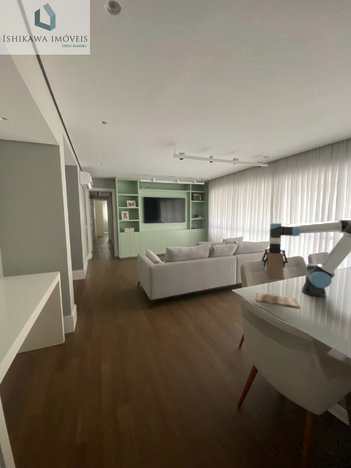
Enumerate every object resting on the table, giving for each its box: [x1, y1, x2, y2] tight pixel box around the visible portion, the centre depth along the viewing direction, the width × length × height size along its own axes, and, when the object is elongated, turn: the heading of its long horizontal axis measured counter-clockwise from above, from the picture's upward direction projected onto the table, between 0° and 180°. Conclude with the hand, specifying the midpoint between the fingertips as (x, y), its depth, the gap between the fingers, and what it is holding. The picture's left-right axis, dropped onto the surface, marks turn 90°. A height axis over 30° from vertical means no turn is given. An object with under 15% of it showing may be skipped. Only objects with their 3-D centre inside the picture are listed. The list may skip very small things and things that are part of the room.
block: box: [265, 251, 284, 281], centre depth 150 cm, size 10×10×20 cm
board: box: [256, 292, 301, 309], centre depth 138 cm, size 26×13×1 cm, turn 68°
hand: (274, 270), depth 151 cm, fingers closed on block, 11 cm apart
